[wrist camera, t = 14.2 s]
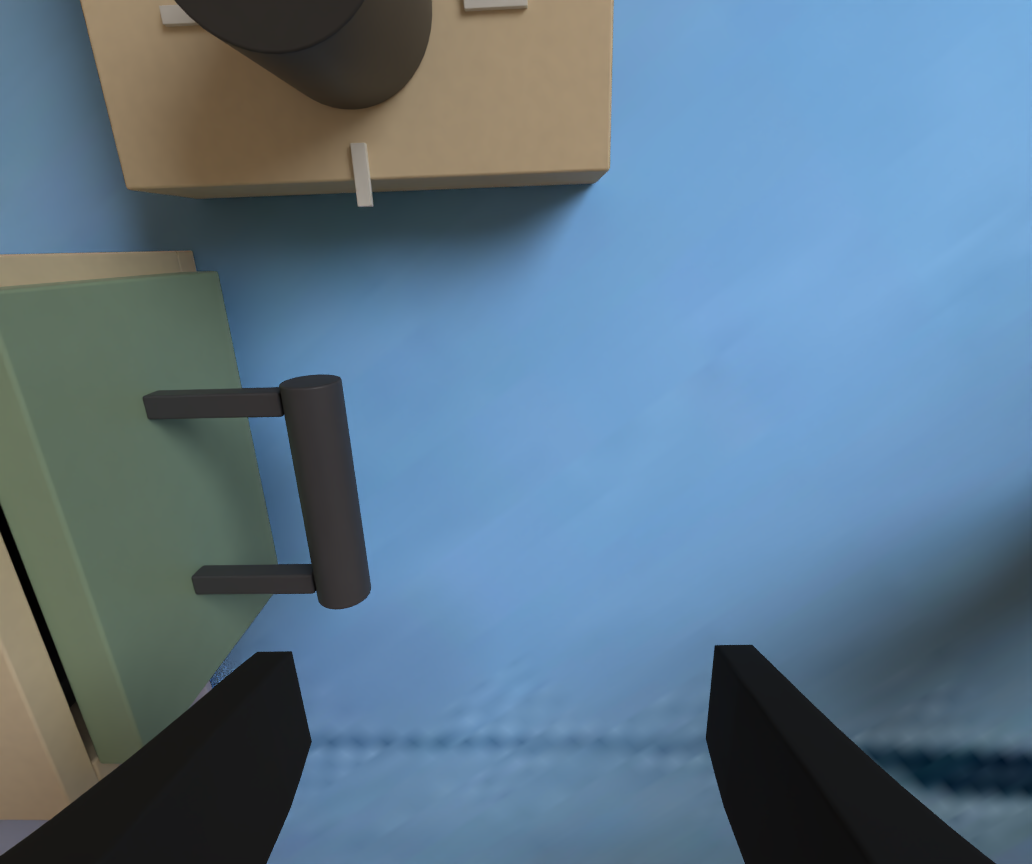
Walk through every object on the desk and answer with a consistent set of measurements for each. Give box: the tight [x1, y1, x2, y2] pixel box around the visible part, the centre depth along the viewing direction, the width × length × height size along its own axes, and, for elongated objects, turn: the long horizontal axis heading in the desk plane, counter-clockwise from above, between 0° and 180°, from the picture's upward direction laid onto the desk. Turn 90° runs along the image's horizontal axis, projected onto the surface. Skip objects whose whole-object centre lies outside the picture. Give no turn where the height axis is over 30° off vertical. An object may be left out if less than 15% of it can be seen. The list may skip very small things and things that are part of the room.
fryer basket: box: [0, 271, 371, 764], centre depth 15 cm, size 18×11×7 cm, turn 92°
